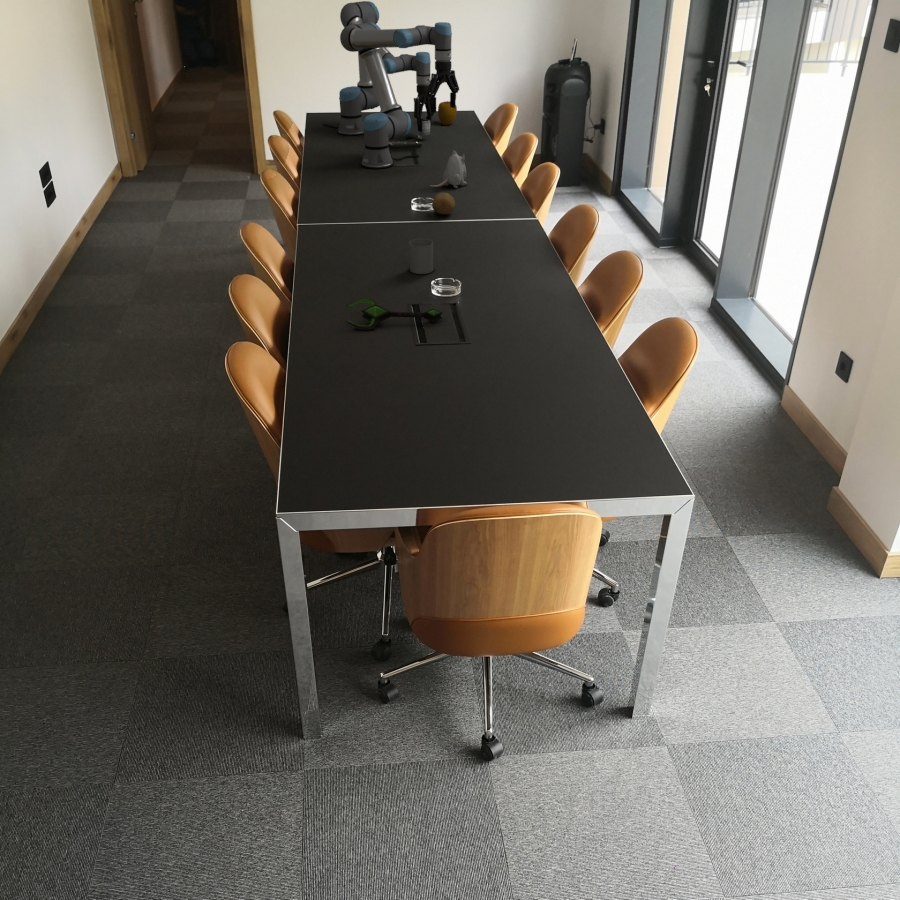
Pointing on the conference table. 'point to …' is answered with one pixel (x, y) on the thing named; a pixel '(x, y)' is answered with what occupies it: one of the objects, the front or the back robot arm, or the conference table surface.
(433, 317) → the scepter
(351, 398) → the conference table surface
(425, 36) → the front robot arm
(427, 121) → the camera lens
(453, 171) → the toy
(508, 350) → the conference table surface
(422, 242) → the cup
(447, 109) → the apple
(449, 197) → the potato
